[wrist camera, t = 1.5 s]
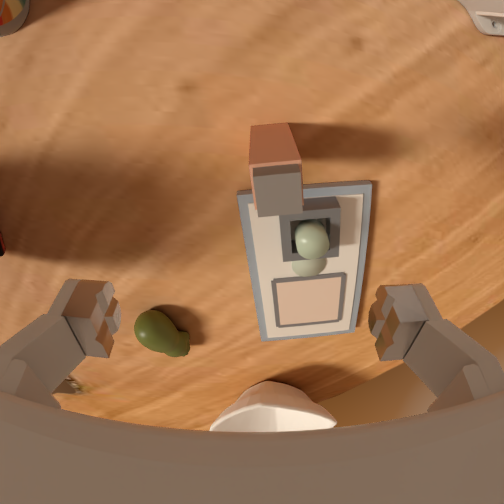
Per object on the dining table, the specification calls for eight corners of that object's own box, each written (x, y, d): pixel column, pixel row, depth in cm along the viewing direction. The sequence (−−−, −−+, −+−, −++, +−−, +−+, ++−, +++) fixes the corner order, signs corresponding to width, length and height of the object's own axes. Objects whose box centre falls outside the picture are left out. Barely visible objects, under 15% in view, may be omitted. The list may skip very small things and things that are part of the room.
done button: (325, 217, 31) (329, 230, 30) (325, 243, 33) (329, 257, 31) (293, 220, 32) (296, 233, 30) (295, 246, 34) (297, 260, 32)
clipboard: (369, 180, 32) (373, 186, 31) (353, 327, 46) (354, 334, 45) (237, 191, 33) (236, 197, 32) (261, 336, 47) (261, 343, 46)
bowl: (258, 352, 50) (258, 398, 43) (345, 382, 57) (351, 421, 50) (200, 396, 61) (196, 433, 54) (279, 419, 68) (280, 451, 61)
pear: (153, 331, 39) (198, 360, 45) (157, 298, 42) (199, 330, 49) (124, 341, 40) (170, 368, 47) (129, 310, 44) (171, 339, 51)
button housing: (335, 196, 32) (340, 207, 30) (334, 243, 35) (338, 256, 34) (277, 201, 32) (278, 213, 30) (281, 248, 36) (283, 262, 34)
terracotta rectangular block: (287, 122, 28) (304, 168, 19) (290, 156, 31) (306, 216, 21) (250, 126, 29) (248, 173, 20) (255, 159, 31) (254, 220, 22)
